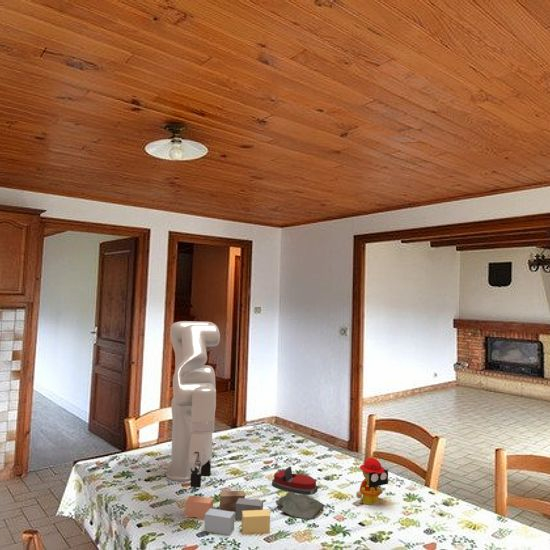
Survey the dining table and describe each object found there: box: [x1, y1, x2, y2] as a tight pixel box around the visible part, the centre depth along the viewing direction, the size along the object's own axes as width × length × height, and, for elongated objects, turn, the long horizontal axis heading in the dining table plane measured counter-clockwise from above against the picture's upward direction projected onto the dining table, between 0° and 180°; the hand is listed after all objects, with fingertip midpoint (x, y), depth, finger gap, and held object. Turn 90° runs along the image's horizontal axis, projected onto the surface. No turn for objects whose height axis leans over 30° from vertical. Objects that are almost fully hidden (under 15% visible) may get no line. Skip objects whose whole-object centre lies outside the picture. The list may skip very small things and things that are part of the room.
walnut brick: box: [219, 490, 246, 512], centre depth 148 cm, size 8×4×5 cm, turn 97°
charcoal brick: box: [235, 498, 264, 521], centre depth 142 cm, size 8×4×5 cm, turn 81°
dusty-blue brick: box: [203, 508, 236, 536], centre depth 133 cm, size 8×4×5 cm, turn 76°
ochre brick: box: [240, 509, 271, 535], centre depth 134 cm, size 8×4×5 cm, turn 100°
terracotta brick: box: [184, 495, 214, 520], centre depth 142 cm, size 8×4×5 cm, turn 81°
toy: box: [355, 457, 389, 505], centre depth 156 cm, size 11×9×15 cm
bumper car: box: [269, 454, 318, 496], centre depth 168 cm, size 10×20×10 cm, turn 61°
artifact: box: [275, 491, 326, 520], centre depth 149 cm, size 14×4×15 cm
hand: (200, 481), depth 142 cm, fingers open, 9 cm apart
